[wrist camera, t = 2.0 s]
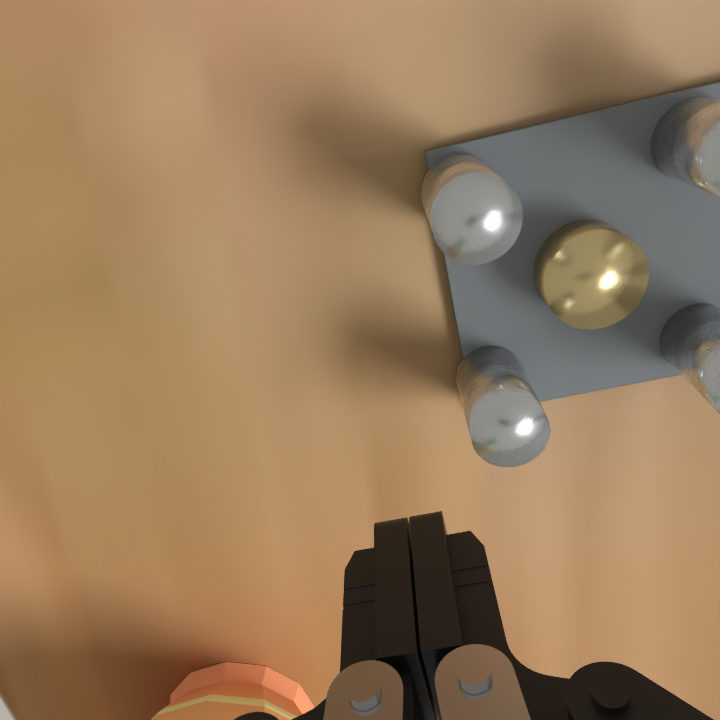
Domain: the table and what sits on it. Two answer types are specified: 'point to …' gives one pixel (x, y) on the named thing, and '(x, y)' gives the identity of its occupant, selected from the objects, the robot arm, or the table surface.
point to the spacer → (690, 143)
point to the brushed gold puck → (591, 274)
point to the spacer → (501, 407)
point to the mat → (589, 202)
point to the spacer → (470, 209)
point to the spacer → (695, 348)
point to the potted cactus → (235, 694)
